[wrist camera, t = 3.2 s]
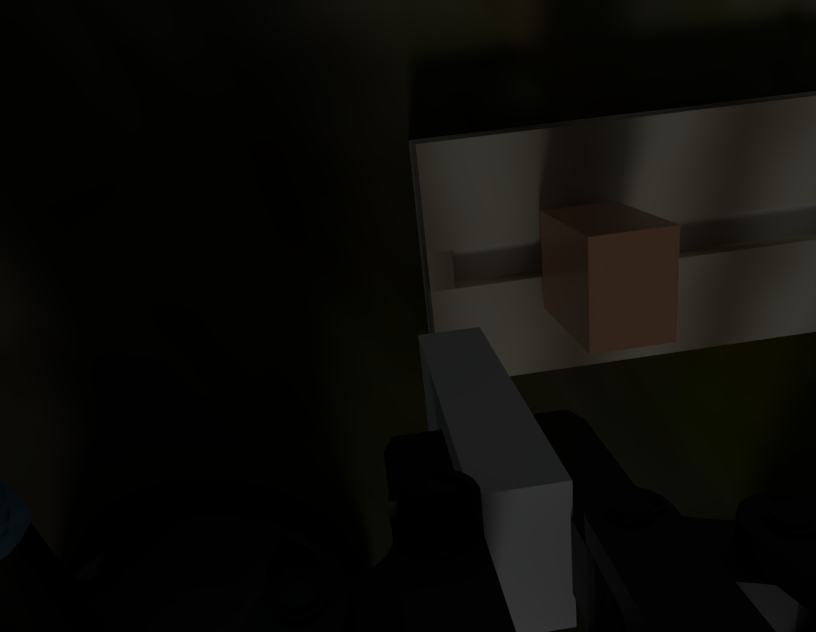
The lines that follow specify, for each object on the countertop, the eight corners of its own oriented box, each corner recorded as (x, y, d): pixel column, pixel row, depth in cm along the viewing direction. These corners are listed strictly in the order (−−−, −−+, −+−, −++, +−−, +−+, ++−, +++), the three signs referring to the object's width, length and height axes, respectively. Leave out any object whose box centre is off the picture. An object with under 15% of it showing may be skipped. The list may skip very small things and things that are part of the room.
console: (432, 363, 29) (440, 386, 27) (408, 140, 26) (415, 144, 24) (920, 293, 31) (969, 309, 28) (956, 73, 28) (1016, 71, 25)
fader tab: (535, 299, 27) (589, 354, 21) (531, 205, 26) (587, 236, 20) (603, 289, 27) (676, 342, 21) (603, 196, 26) (680, 224, 20)
